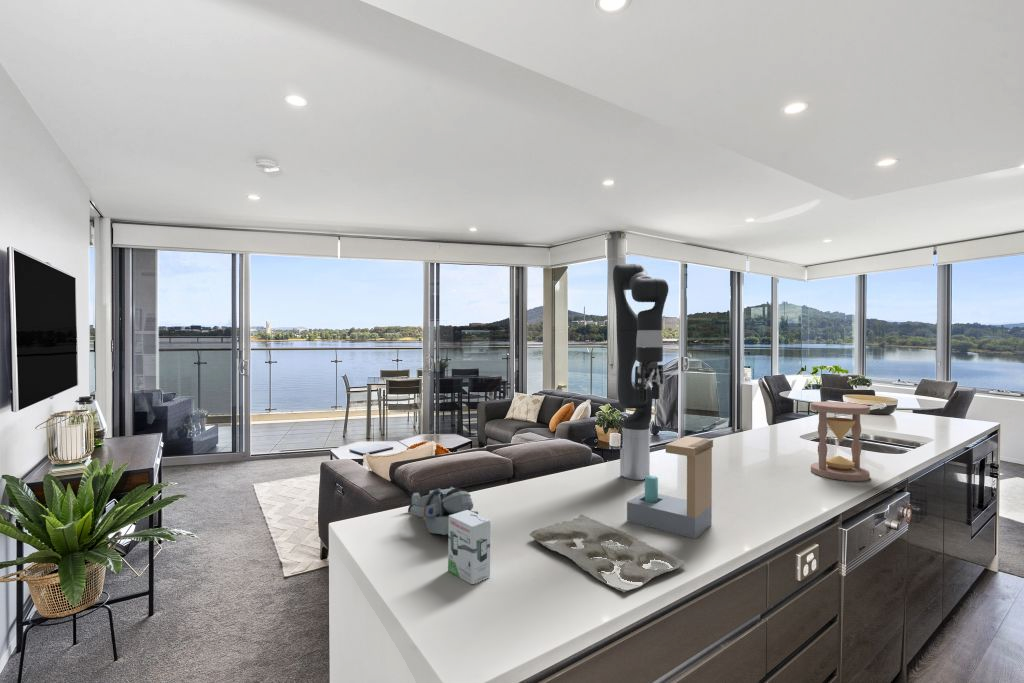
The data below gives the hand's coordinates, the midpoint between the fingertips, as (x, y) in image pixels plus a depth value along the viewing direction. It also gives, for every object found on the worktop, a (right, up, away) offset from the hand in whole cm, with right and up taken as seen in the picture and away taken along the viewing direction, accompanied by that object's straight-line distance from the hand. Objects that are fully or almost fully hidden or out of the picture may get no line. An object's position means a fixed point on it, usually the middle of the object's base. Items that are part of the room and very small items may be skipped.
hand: (649, 400), depth 145 cm
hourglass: (+76, -30, +30) cm, 87 cm away
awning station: (+1, -30, -16) cm, 34 cm away
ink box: (-50, -31, -44) cm, 73 cm away
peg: (-3, -30, -13) cm, 33 cm away
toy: (-59, -31, -18) cm, 69 cm away
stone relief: (-21, -31, -34) cm, 51 cm away
